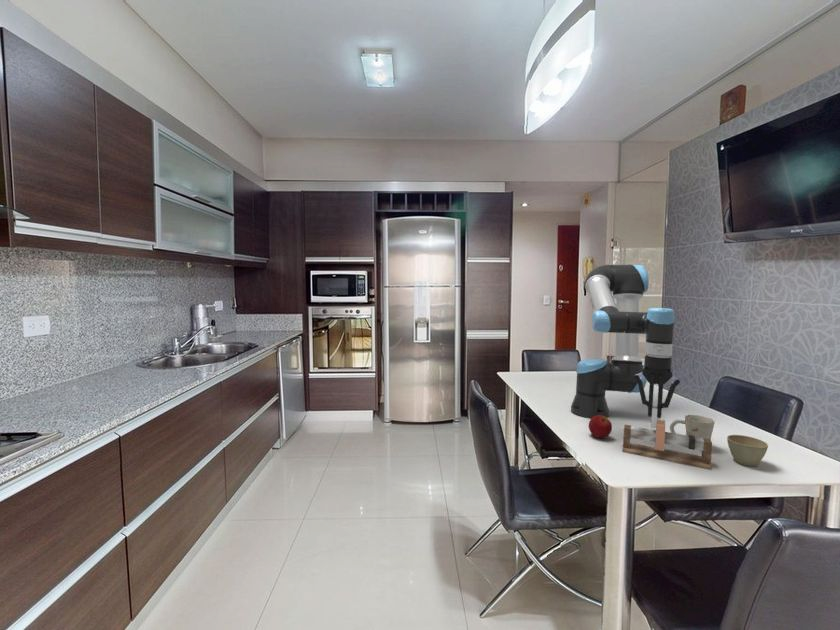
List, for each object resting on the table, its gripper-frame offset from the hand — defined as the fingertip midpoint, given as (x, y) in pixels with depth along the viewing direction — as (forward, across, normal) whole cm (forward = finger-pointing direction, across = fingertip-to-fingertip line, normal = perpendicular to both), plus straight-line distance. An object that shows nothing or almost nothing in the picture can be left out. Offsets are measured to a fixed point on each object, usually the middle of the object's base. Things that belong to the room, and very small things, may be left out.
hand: (653, 426), depth 131 cm
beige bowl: (+9, +25, +8) cm, 28 cm away
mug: (+9, +11, +15) cm, 21 cm away
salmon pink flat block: (+6, +2, 0) cm, 7 cm away
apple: (+9, -17, +6) cm, 20 cm away
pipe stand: (+9, +4, 0) cm, 10 cm away
